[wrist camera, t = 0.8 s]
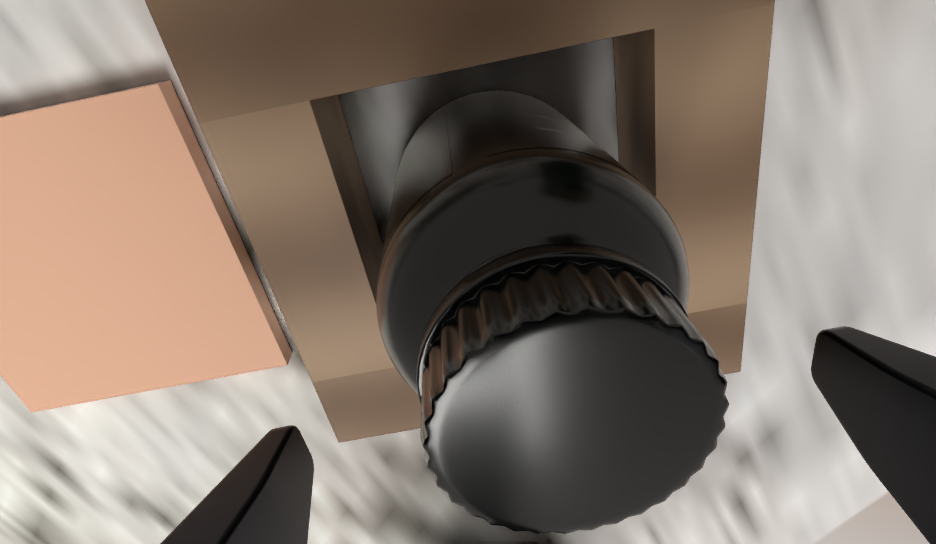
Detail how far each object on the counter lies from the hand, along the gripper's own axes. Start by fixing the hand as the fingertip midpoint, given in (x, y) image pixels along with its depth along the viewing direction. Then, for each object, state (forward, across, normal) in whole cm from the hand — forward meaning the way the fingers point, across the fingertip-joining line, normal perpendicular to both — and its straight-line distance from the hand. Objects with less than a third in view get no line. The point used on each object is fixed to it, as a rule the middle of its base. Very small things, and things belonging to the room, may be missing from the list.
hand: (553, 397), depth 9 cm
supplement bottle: (+11, 0, 0) cm, 11 cm away
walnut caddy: (+11, 0, 0) cm, 11 cm away
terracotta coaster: (+11, +15, 0) cm, 19 cm away
